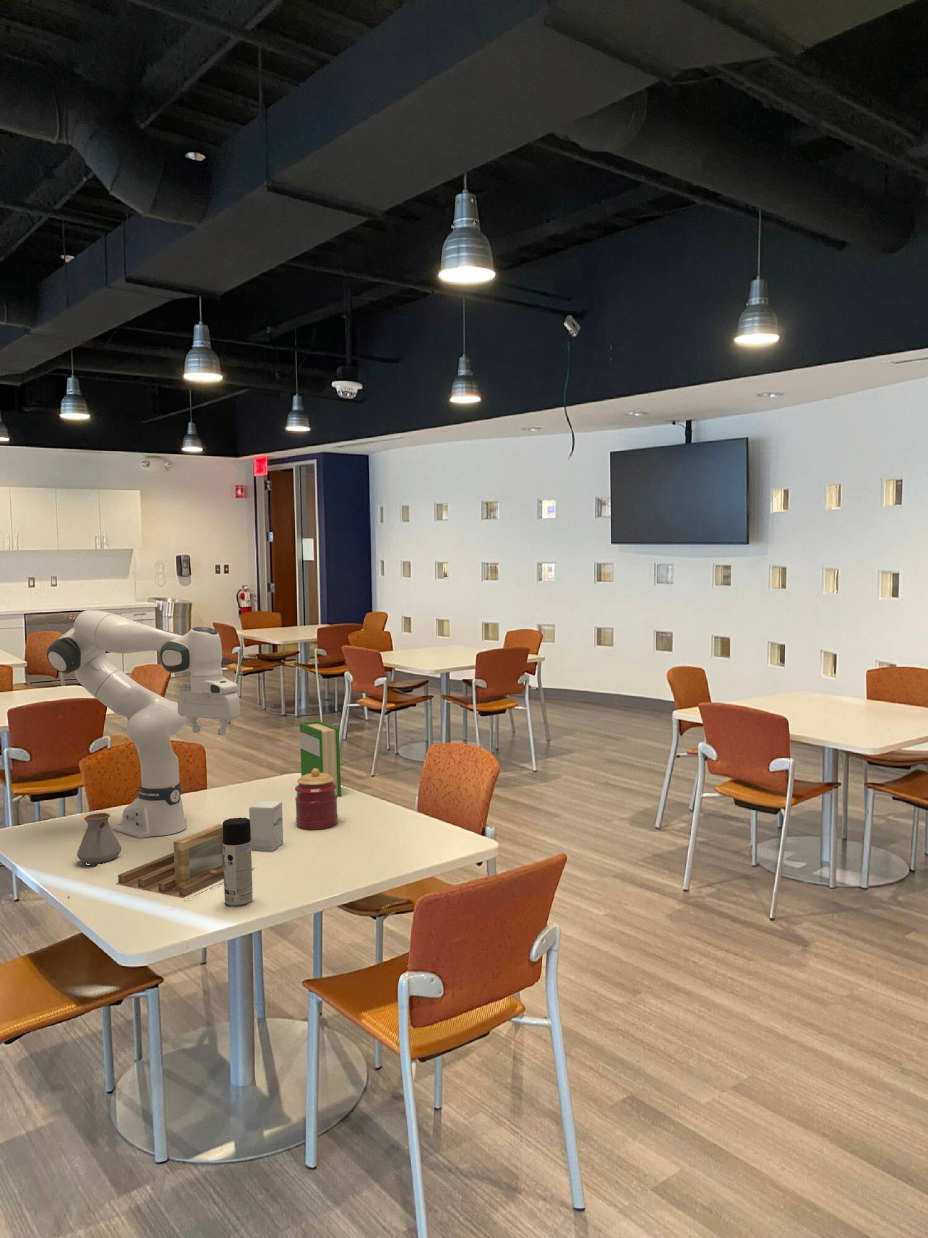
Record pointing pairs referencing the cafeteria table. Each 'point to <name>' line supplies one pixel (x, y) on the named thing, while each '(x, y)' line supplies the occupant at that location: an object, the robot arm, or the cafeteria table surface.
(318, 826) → the canister
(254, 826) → the supplement box
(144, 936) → the cafeteria table surface
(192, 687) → the robot arm
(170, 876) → the slotted rack
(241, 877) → the spray can
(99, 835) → the coffee pot
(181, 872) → the wooden picture frame
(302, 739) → the hardback book
